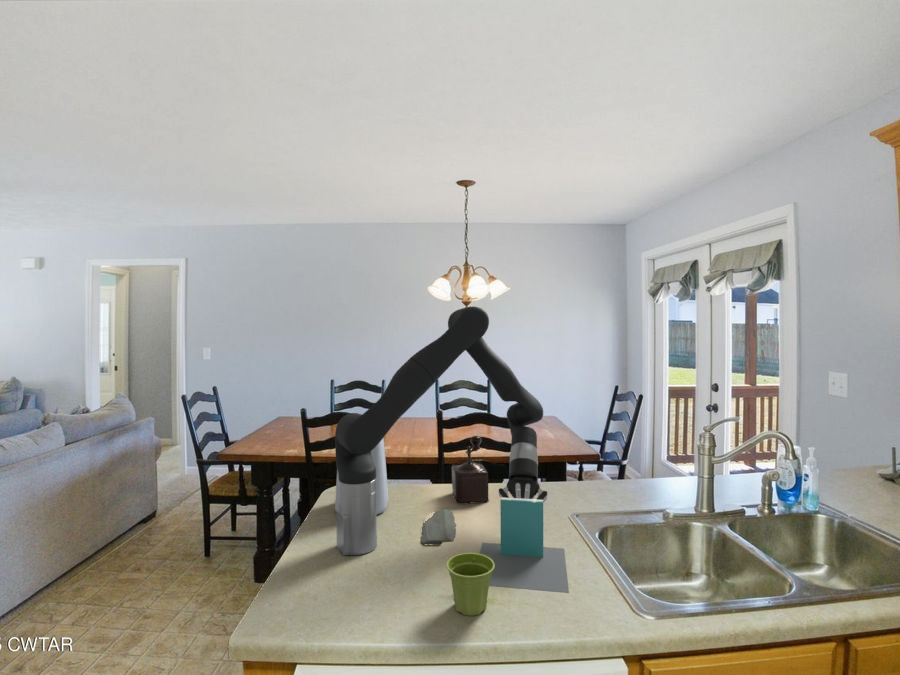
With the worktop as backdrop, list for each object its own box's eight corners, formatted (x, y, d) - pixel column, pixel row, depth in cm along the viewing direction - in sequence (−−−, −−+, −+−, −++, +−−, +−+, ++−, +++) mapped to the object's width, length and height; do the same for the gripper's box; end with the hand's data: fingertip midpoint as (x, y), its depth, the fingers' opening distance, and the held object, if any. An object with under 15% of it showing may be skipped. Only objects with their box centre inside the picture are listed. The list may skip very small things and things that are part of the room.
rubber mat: (568, 596, 100) (568, 592, 100) (471, 587, 103) (471, 583, 103) (564, 551, 120) (564, 548, 119) (482, 545, 123) (482, 542, 123)
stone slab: (421, 552, 123) (460, 545, 124) (420, 541, 123) (459, 535, 124) (421, 518, 146) (454, 512, 146) (420, 509, 146) (453, 503, 146)
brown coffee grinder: (491, 502, 153) (491, 445, 153) (456, 504, 152) (456, 446, 151) (480, 486, 169) (480, 434, 168) (449, 488, 167) (448, 435, 167)
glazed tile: (543, 557, 115) (543, 502, 115) (500, 554, 117) (500, 500, 117) (543, 553, 117) (543, 499, 116) (501, 550, 119) (501, 497, 118)
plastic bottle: (389, 498, 157) (388, 411, 156) (384, 516, 142) (383, 420, 141) (342, 499, 157) (341, 412, 156) (332, 517, 142) (331, 421, 141)
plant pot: (498, 620, 92) (498, 574, 92) (448, 623, 91) (448, 577, 91) (490, 593, 101) (490, 551, 101) (445, 595, 101) (444, 553, 100)
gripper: (498, 455, 130) (494, 519, 118) (548, 457, 128) (549, 522, 116) (499, 469, 136) (496, 531, 124) (548, 472, 133) (549, 535, 121)
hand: (522, 527), depth 120 cm, fingers closed
